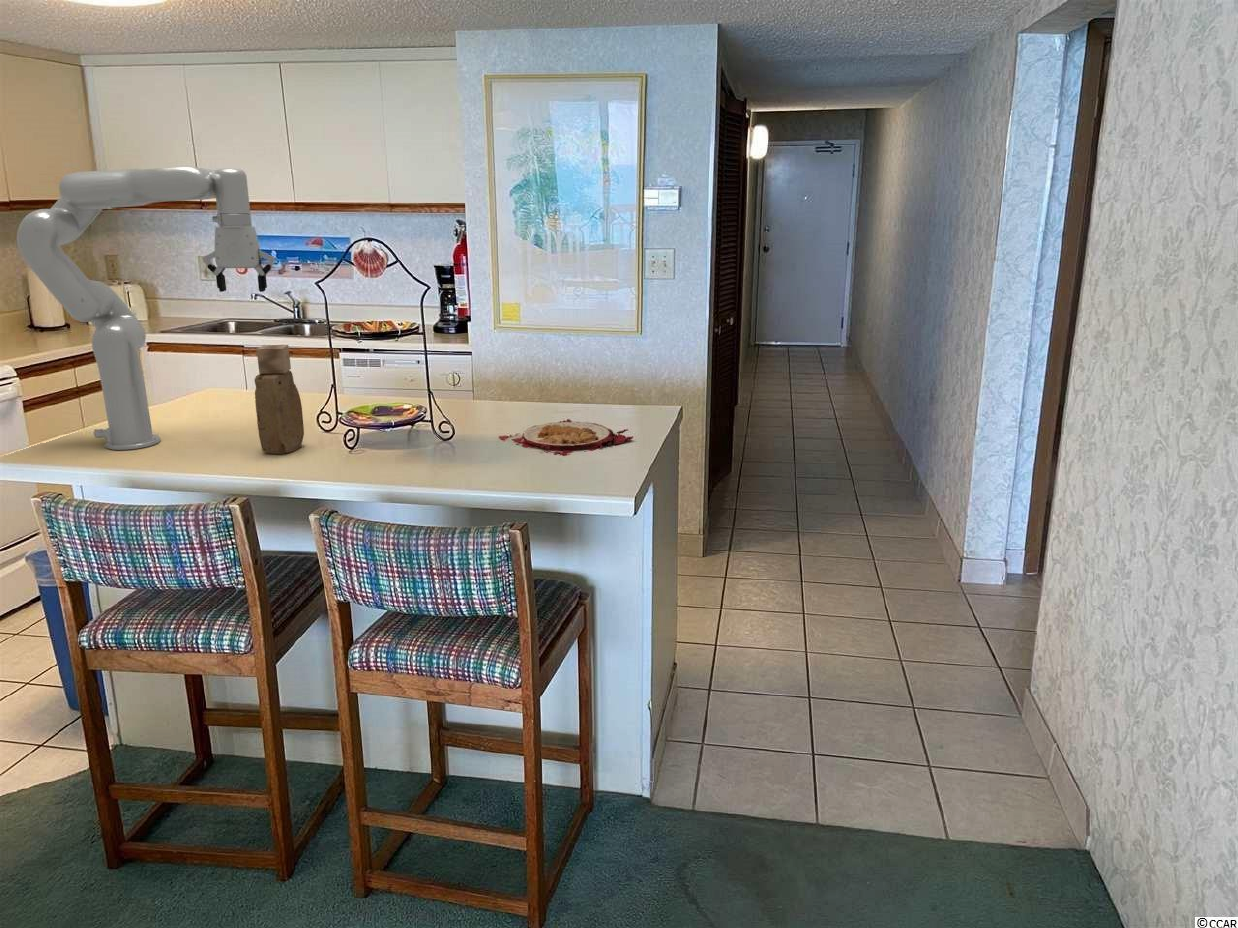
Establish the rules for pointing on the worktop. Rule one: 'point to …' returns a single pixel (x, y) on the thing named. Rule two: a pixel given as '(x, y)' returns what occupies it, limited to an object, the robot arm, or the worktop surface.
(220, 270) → the robot arm
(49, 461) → the worktop surface
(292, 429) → the block
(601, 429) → the plate with food
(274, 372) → the cube
